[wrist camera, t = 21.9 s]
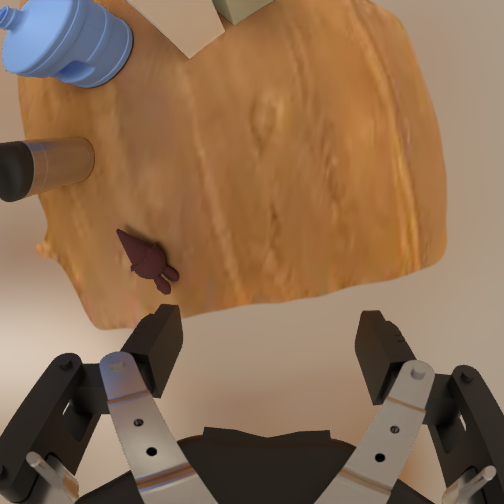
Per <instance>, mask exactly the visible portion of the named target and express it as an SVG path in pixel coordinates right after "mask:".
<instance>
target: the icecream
mask: <svg viewBox="0 0 504 504" xmlns="http://www.w3.org/2000/svg"><path fill="white" fill-rule="evenodd" d="M116 232H117V234H118V236H119V239H120V241H121V243H122V245H123V247H124V249H125V251H126V253H127V255H128V257H129V259H130V261H131V263H132V266H131V271H135V272H136V274H138V275H139V276H140V277H142V278H145V279H154V282H155V284H156V285H157V289H158V290H160V291H161V292H162V293H163V294H165V295H166V294H170V292H171V286H170V284H169V282H167V281H166V280H165V279H164V278H163V277H162V276H160V275H161V274H162V273H163V275H165V276H166V277H167V278H168V279H170V280H172V281H177V280H178V279H179V276H178V274H177V272H176V271H175V270H174V269H172V268H170V267H168V266H165V265H166V262H165V257H164V254H163V252H162V251H161V250H160V248H158V247H156V245H157V243H154V245H153V246H152V245H149V244H147V243H145V242H143V241H141V240H139V239H137V238H135V237H133V236H131V235H129V234H127V233H125V232H124V231H122V230H120V229H117V230H116Z"/></svg>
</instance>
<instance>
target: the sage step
mask: <svg viewBox="0 0 504 504" xmlns="http://www.w3.org/2000/svg"><path fill="white" fill-rule="evenodd" d="M273 1H274V0H212V2H213V5H214V7H215V9H216V10H217V11H218V12H219V13H220V14H221V15H223V16H224V17H225V18H226V19H227V20H229V21H230V22H231V23H232V24H233V25H236V24H237V23H239V22H240V21H242V20H243V19H245V18H246V17H248V16H249V15H251V14H253V13H254V12H256V11H257V10H259V9H261V8H262V7H264V6H266V5H267V4H269V3H271V2H273Z"/></svg>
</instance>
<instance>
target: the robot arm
mask: <svg viewBox="0 0 504 504" xmlns="http://www.w3.org/2000/svg"><path fill="white" fill-rule="evenodd" d="M93 166H94V151H93V148H92V146H91V144H90V143H89V142H88V141H87V140H86V139H84V138H51V139H36V140H25V141H15V142H6V143H0V198H1V199H2V200H4V201H6V202H14V201H17V200H20V199H23V198H26V197H29V196H32V195H35V194H38V193H42V192H45V191H49V190H52V189H56V188H59V187H63V186H67V185H71V184H74V183H78V182H81V181H84V180H85V179H86V178H87V177H88V176H89V175H90V173H91V171H92V169H93ZM182 344H183V331H182V323H181V316H180V309H179V306H178V305H170V304H161V305H160V306H159V308H158V309H157V311H156V312H155V314H149V315H147V316H146V317H144V318H143V319H141V321H140V322H139V324H138V325H137V328H135V330H134V331H133V333H132V334H131V335H130V337H129V338H128V340H127V341H126V343H125V344H124V346H123V347H122V349H121V350H120V351H119V352H113V353H110V354H108V355H106V356H105V357H103V358H102V360H101V361H100V363H97V364H83V363H82V361H81V359H80V357H79V356H78V355H77V354H74V353H65V354H61V355H59V356H57V357H56V358H55V359H54V360H53V361H52V362H51V364H50V365H49V366H48V368H47V369H46V370H45V372H44V373H43V374H42V376H41V377H40V379H39V380H38V381H37V382H36V384H35V385H34V387H33V388H32V389H31V391H30V393H29V394H28V395H27V397H26V398H25V399H24V401H23V402H22V404H21V405H20V407H19V408H18V410H17V411H16V413H15V414H14V416H13V417H12V419H11V420H10V422H9V424H8V425H7V427H6V428H5V430H4V432H3V433H2V435H1V436H0V494H1V495H2V496H3V497H4V498H5V499H6V500H7V501H9V502H10V503H11V504H435V503H433V502H432V501H430V500H428V499H427V498H426V497H424V496H422V495H421V494H419V493H418V492H417V491H415V490H414V489H412V488H411V487H409V486H408V485H406V484H405V483H404V482H402V481H401V480H400V479H398V477H399V474H400V472H401V471H402V469H403V466H404V464H405V462H406V460H407V458H408V456H409V453H410V451H411V449H412V447H413V444H414V442H415V439H416V437H417V435H418V432H419V430H420V427H421V425H422V424H427V425H428V428H429V431H430V434H431V437H432V440H433V443H434V446H435V449H436V453H437V456H438V459H439V462H440V466H441V469H442V473H443V476H444V480H445V484H446V487H447V489H446V490H445V492H444V494H443V496H442V504H504V415H503V413H502V411H501V409H500V407H499V406H498V404H497V402H496V400H495V399H494V397H493V395H492V393H491V392H490V390H489V388H488V387H487V385H486V383H485V382H484V380H483V378H482V377H481V375H480V374H479V372H478V371H477V370H476V369H474V368H473V367H470V366H467V365H460V366H457V367H456V368H455V369H454V370H453V372H452V374H451V375H444V374H435V372H434V370H433V368H432V367H431V366H430V365H429V364H427V363H426V362H423V361H420V360H417V359H416V358H415V356H414V354H413V352H412V351H411V349H410V347H409V345H408V344H407V342H405V339H404V337H403V336H402V334H401V332H400V330H399V329H398V327H397V326H396V325H394V324H393V323H392V322H390V321H385V319H384V317H383V315H382V314H381V312H380V311H379V310H375V311H363V312H362V313H361V317H360V321H359V326H358V330H357V334H356V339H355V352H356V355H357V358H358V361H359V364H360V367H361V370H362V373H363V376H364V379H365V382H366V385H367V387H368V391H369V394H370V396H371V400H372V403H373V405H381V404H382V406H381V408H380V410H379V412H378V413H377V415H376V417H375V419H374V420H373V422H372V424H371V426H370V427H369V429H368V430H367V432H366V434H365V435H364V437H363V439H362V440H361V442H360V443H359V445H358V446H357V447H355V446H353V445H351V444H349V443H346V442H344V441H341V440H337V439H331V437H330V430H324V431H302V432H301V431H300V432H295V433H291V434H286V435H280V436H275V437H269V438H266V437H261V436H257V435H253V434H249V433H245V432H242V431H238V430H233V429H221V428H212V427H204V432H203V435H197V436H191V437H187V438H184V439H181V440H179V441H177V442H176V441H175V439H174V437H173V435H172V433H171V432H170V430H169V428H168V426H167V424H166V422H165V420H164V419H163V417H162V415H161V413H160V411H159V409H158V407H157V405H156V403H155V401H154V399H153V397H154V398H161V396H162V393H163V391H164V388H165V386H166V383H167V381H168V379H169V376H170V374H171V371H172V369H173V367H174V364H175V362H176V359H177V357H178V355H179V352H180V350H181V348H182ZM68 403H70V404H69V406H68V407H67V409H66V411H65V413H64V414H63V411H64V409H65V408H66V406H67V404H68ZM101 414H110V415H111V417H112V421H113V424H114V427H115V430H116V433H117V435H118V438H119V441H120V444H121V447H122V449H123V452H124V454H125V457H126V459H127V462H128V464H129V467H130V469H131V470H129V471H128V472H126V473H124V474H122V475H121V476H119V477H118V478H115V479H114V480H112V481H110V482H108V483H106V484H104V485H103V486H101V487H99V488H97V489H95V490H93V491H91V492H89V493H87V494H85V495H83V496H82V497H80V498H79V494H78V492H79V484H78V481H77V479H76V478H75V477H74V476H75V474H76V471H77V468H78V466H79V464H80V462H81V459H82V457H83V454H84V452H85V449H86V448H87V445H88V443H89V441H90V438H91V436H92V434H93V432H94V429H95V427H96V425H97V423H98V421H99V419H100V416H101ZM461 415H462V417H463V419H464V422H465V424H466V431H465V429H464V427H463V424H462V422H461V420H460V416H461ZM78 498H79V499H78Z"/></svg>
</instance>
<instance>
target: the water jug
mask: <svg viewBox="0 0 504 504" xmlns="http://www.w3.org/2000/svg"><path fill="white" fill-rule="evenodd" d="M0 27H1V29H4V30H5V29H7V30H8V31H7V34H6V37H5V40H4V43H3V48H2V61H3V65H4V67H5V69H6V70H7V71H8V72H10V73H13V74H17V75H20V76H26V77H38V78H45V77H54V78H57V79H58V80H59V81H61V82H64V83H69V84H73V85H76V86H79V87H84V88H91V87H96V86H99V85H101V84H103V83H105V82H107V81H108V80H110V79H111V78H112V77H113V76H115V75H116V74H117V73H118V71H119V70H120V69H121V68H122V67H123V65H124V64H125V62H126V60H127V59H128V57H129V54H130V51H131V48H132V42H133V37H132V32H131V29H130V27H129V26H128V25H127V23H125V22H124V21H123V20H121V19H120V18H117V17H116V16H114V15H113V14H112V13H110V12H109V11H108V10H107V9H106V8H104V7H103V6H101V5H100V4H98V3H95V2H94V1H92V0H29V1H28V2H27V3H26V4H25V5H24V6H23V7H22V8H21V9H20V11H19V10H17V9H15V8H13V9H11V8H9V7H8V6H5V7H3V8H2V9H1V10H0Z"/></svg>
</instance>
